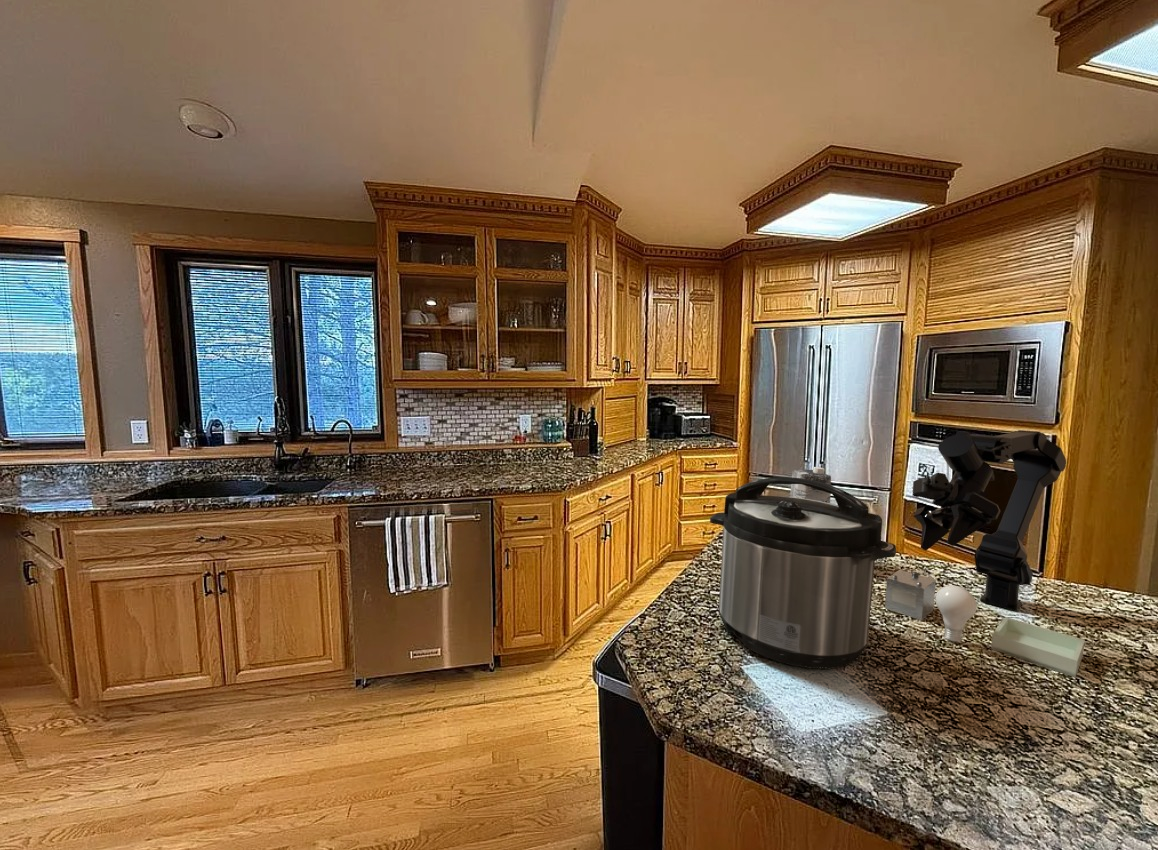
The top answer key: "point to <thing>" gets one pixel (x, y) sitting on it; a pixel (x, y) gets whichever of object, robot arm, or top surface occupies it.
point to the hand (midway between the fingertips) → (936, 547)
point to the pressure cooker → (799, 573)
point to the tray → (1039, 646)
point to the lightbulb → (955, 610)
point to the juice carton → (809, 492)
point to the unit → (910, 594)
